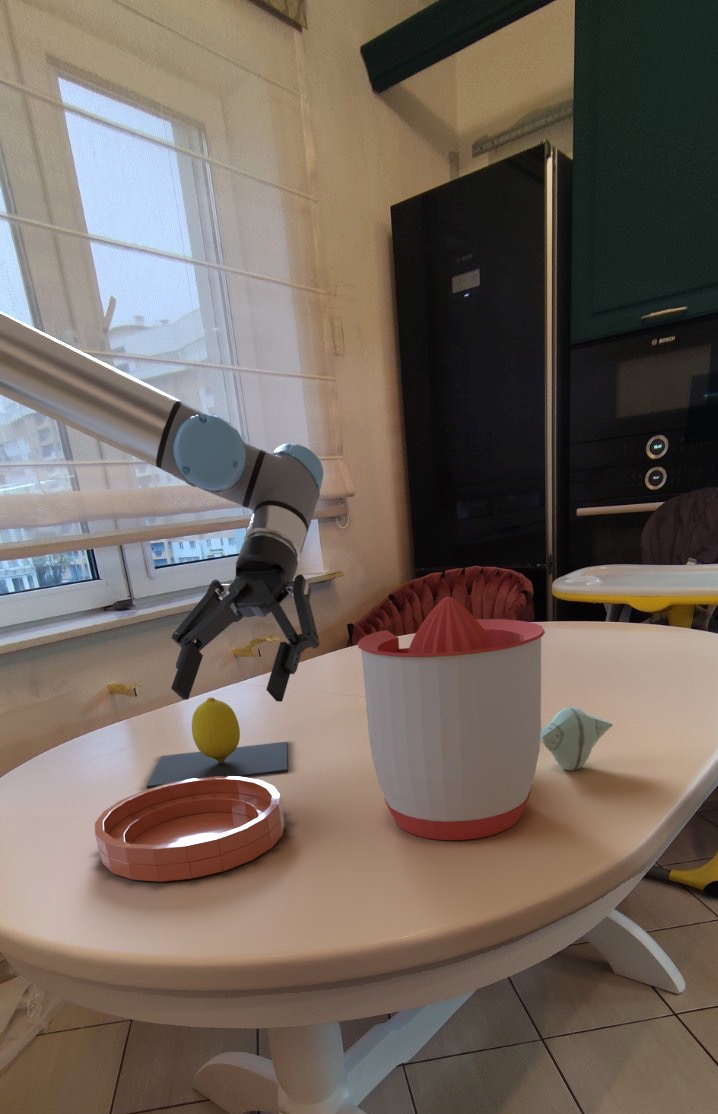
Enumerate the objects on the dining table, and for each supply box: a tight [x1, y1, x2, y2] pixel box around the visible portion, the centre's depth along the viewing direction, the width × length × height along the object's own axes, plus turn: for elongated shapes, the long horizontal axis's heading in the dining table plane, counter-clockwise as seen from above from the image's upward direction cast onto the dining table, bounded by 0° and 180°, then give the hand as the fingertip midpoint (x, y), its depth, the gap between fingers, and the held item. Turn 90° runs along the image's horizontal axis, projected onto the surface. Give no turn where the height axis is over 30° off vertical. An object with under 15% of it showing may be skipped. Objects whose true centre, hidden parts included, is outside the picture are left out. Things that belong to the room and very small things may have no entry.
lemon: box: [191, 696, 241, 762], centre depth 86 cm, size 6×6×8 cm
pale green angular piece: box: [540, 706, 614, 771], centre depth 75 cm, size 8×4×7 cm, turn 105°
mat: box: [146, 741, 289, 790], centre depth 87 cm, size 16×11×1 cm
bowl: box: [94, 776, 285, 882], centre depth 67 cm, size 17×17×4 cm
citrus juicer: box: [357, 596, 546, 841], centre depth 64 cm, size 16×17×20 cm
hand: (225, 695), depth 87 cm, fingers open, 13 cm apart
